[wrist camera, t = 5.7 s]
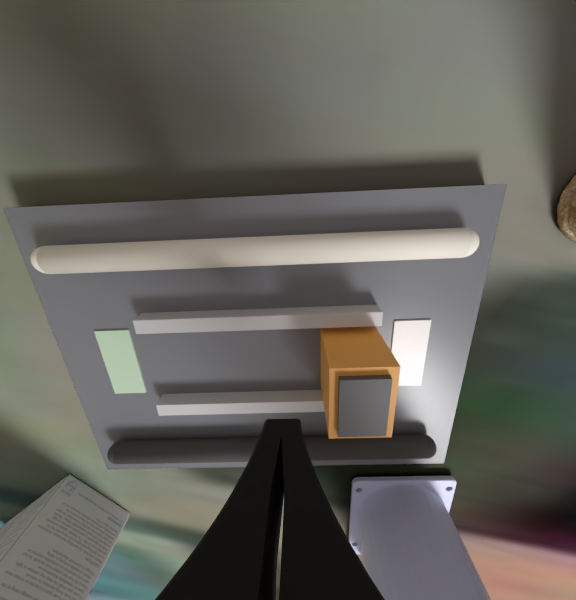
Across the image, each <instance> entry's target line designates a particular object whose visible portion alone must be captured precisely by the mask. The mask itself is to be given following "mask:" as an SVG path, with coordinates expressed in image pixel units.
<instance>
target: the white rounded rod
mask: <svg viewBox="0 0 576 600" xmlns="http://www.w3.org/2000/svg"><path fill="white" fill-rule="evenodd" d="M478 246H479V236H478V234H477V233H476V232H475V231H474V230H472V229H469V228H442V229H419V230H396V231H373V232H350V233H327V234H304V235H281V236H258V237H235V238H212V239H189V240H165V241H142V242H119V243H96V244H73V245H50V246H41V247H39V248H37V249H35V250H34V251H33V252H32V254H31V257H30V261H31V264H32V265H33V267H34V268H35V269H36V270H38V271H40V272H42V273H45V274H71V273H96V272H121V271H146V270H171V269H196V268H221V267H246V266H271V265H296V264H321V263H345V262H370V261H395V260H420V259H445V258H463V257H467V256H470V255H471V254H473V253H474V252H475V251H476V250H477V248H478Z"/></svg>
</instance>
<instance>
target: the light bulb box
mask: <svg viewBox="0 0 576 600" xmlns="http://www.w3.org/2000/svg"><path fill="white" fill-rule="evenodd" d="M129 516H130V513H129V512H128V511H126V510H124V509H123V508H121V507H120V506H118V505H117V504H115V503H114V502H112V501H111V500H109V499H107V498H106V497H104V496H103V495H101V494H100V493H98V492H97V491H95V490H94V489H92V488H90V487H89V486H87V485H86V484H84V483H83V482H81V481H80V480H78V479H77V478H75V477H73V476H72V475H70V474H69V475H68V476H66V477H65V478H64V479H62V480H61V481H60V482H58V483H57V484H56V485H55V486H53V487H52V488H51V489H49V490H48V491H47V492H46V493H44V494H43V495H42V496H41V497H39V498H38V499H37V500H35V501H34V502H33V503H31V504H30V505H29V506H27V507H26V508H25V509H24V510H22V511H21V512H20V513H18V514H17V515H16V516H15V517H13V518H12V519H11V520H9V521H8V522H7V523H5V524H4V525H3V526H2V527H1V529H0V600H87V599H88V597H89V595H90V593H91V591H92V589H93V587H94V585H95V583H96V581H97V579H98V577H99V575H100V573H101V571H102V569H103V567H104V565H105V563H106V561H107V559H108V557H109V555H110V553H111V551H112V549H113V547H114V545H115V543H116V541H117V539H118V537H119V535H120V533H121V532H122V529H123V527H124V526H125V524H126V522H127V520H128V518H129Z"/></svg>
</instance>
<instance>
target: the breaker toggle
mask: <svg viewBox="0 0 576 600" xmlns="http://www.w3.org/2000/svg"><path fill="white" fill-rule="evenodd" d="M400 367H401V366H400V365H399V363H398V362H397V360H396V358H395V357H394V355H393V354H392V352H391V350H390V349H389V347H388V346H387V344H386V342H385V341H384V339H383V338H382V336H381V334H380V333H379V331H378V330H377V328H376V326H368V327H338V328H321V390H322V397H323V404H324V411H325V417H326V424H327V431H328V438H329V439H336V438H383V437H392V432H393V423H394V415H395V407H396V399H397V391H398V383H399V375H400Z"/></svg>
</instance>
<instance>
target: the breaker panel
mask: <svg viewBox="0 0 576 600" xmlns="http://www.w3.org/2000/svg"><path fill="white" fill-rule="evenodd" d="M506 185H507V184H494V185H473V186H452V187H431V188H410V189H389V190H368V191H347V192H326V193H305V194H284V195H263V196H242V197H222V198H201V199H180V200H159V201H138V202H117V203H96V204H75V205H54V206H33V207H13V208H3V209H4V211H5V214H6V216H7V219H8V221H9V224H10V226H11V229H12V231H13V234H14V236H15V239H16V241H17V244H18V246H19V249H20V251H21V254H22V256H23V259H24V261H25V264H26V266H27V269H28V271H29V274H30V276H31V279H32V281H33V284H34V286H35V289H36V291H37V294H38V296H39V299H40V301H41V304H42V306H43V309H44V311H45V314H46V316H47V319H48V321H49V324H50V326H51V329H52V331H53V334H54V336H55V339H56V341H57V344H58V346H59V349H60V351H61V354H62V356H63V359H64V361H65V364H66V366H67V369H68V371H69V374H70V376H71V379H72V381H73V384H74V386H75V389H76V391H77V394H78V396H79V399H80V401H81V404H82V406H83V409H84V411H85V414H86V416H87V419H88V421H89V424H90V426H91V429H92V431H93V434H94V436H95V439H96V441H97V444H98V446H99V449H100V451H101V454H102V456H103V459H104V461H105V464H106V466H107V469H153V468H208V467H246V466H247V464H248V462H216V463H163V464H113V463H111V462H110V461H109V460H108V457H107V453H108V450H109V448H110V447H111V446H112V445H113V444H114V443H115V442H117V441H121V440H161V439H207V438H254V437H260V434H261V432H262V429H263V426H264V423H265V421H266V420H267V419H297V418H298V419H299V420H300V421H301V427H302V432H303V436H328V431H327V424H326V417H325V411H324V404H323V397H322V390H321V328H338V327H368V326H376V328H377V330H378V331H379V333H380V334H381V336H382V338H383V339H384V341H385V342H386V344H387V346H388V347H389V349H390V350H391V352H392V354H393V355H394V357H395V358H396V360H397V362H398V363H399V365H400V366H401V367H400V375H399V383H398V391H397V399H396V407H395V415H394V423H393V432H392V435H395V434H425V435H428V436H430V437H431V438H432V439H433V440H434V442H435V444H436V448H437V449H436V453H435V455H434V456H433V457H431V458H427V459H376V460H323V461H311V462H312V465H313V466H318V465H373V464H428V463H444V460H445V456H446V452H447V447H448V443H449V438H450V434H451V429H452V425H453V421H454V416H455V412H456V407H457V403H458V398H459V394H460V390H461V385H462V381H463V376H464V372H465V367H466V363H467V358H468V354H469V350H470V345H471V341H472V336H473V332H474V327H475V323H476V319H477V314H478V310H479V305H480V301H481V296H482V292H483V287H484V283H485V279H486V274H487V270H488V265H489V261H490V256H491V252H492V248H493V243H494V239H495V234H496V230H497V225H498V221H499V217H500V212H501V208H502V203H503V199H504V194H505V190H506ZM442 228H469V229H472V230H474V231H475V232H476V233H477V234H478V236H479V246H478V248H477V250H476V251H475V252H474V253H473V254H471V255H470V256H467V257H463V258H445V259H420V260H395V261H370V262H345V263H321V264H296V265H271V266H246V267H221V268H196V269H171V270H146V271H121V272H96V273H71V274H45V273H42V272H40V271H38V270H36V269H35V268H34V267H33V265H32V264H31V261H30V257H31V254H32V252H33V251H34V250H35V249H37V248H39V247H41V246H50V245H73V244H96V243H119V242H142V241H165V240H189V239H212V238H235V237H258V236H281V235H304V234H327V233H350V232H373V231H396V230H419V229H442Z"/></svg>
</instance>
